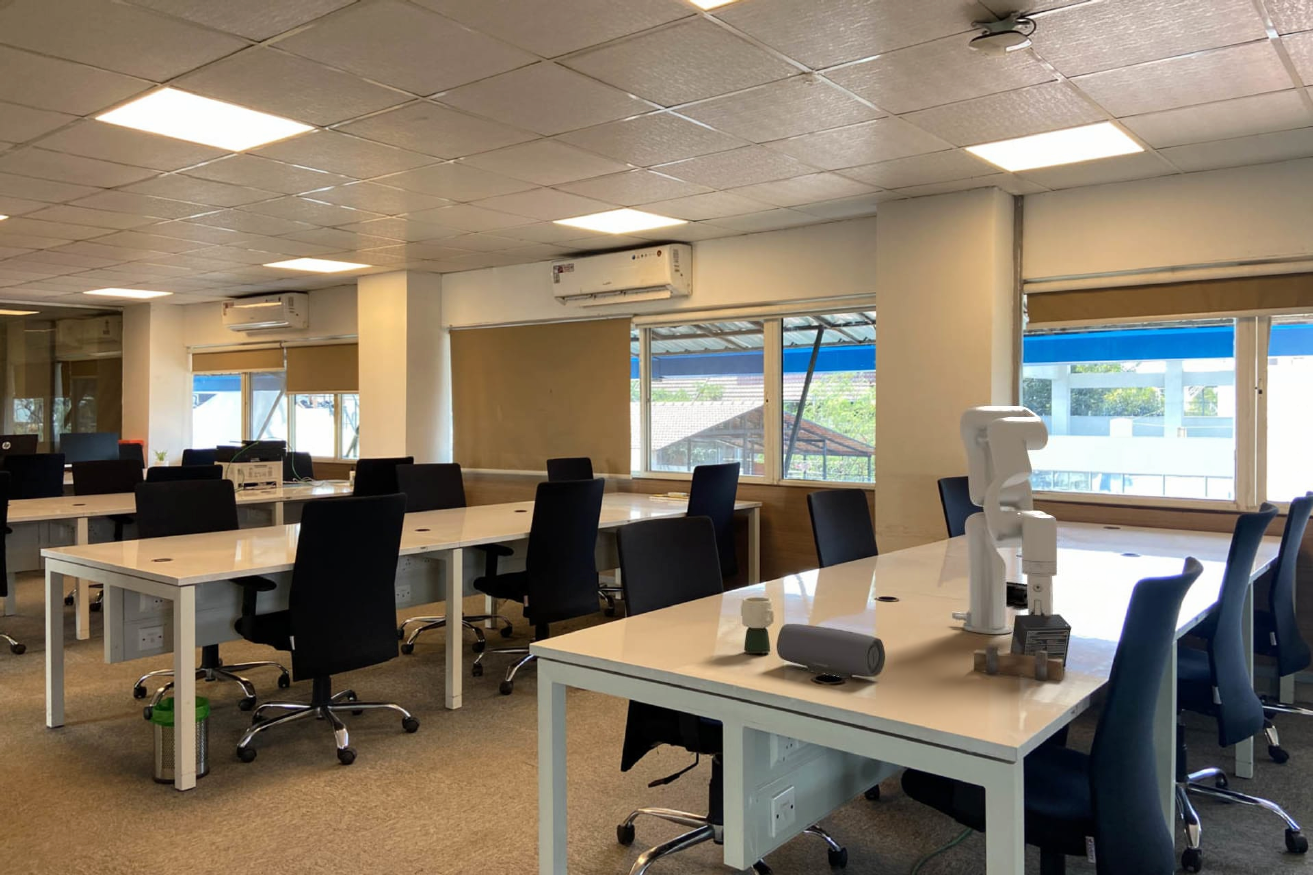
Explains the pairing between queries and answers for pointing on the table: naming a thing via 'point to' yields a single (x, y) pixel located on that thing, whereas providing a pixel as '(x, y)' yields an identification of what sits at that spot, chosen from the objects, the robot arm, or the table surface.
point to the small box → (1041, 635)
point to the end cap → (1016, 595)
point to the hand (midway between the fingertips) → (1039, 646)
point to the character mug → (757, 623)
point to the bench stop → (1018, 664)
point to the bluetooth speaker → (831, 650)
